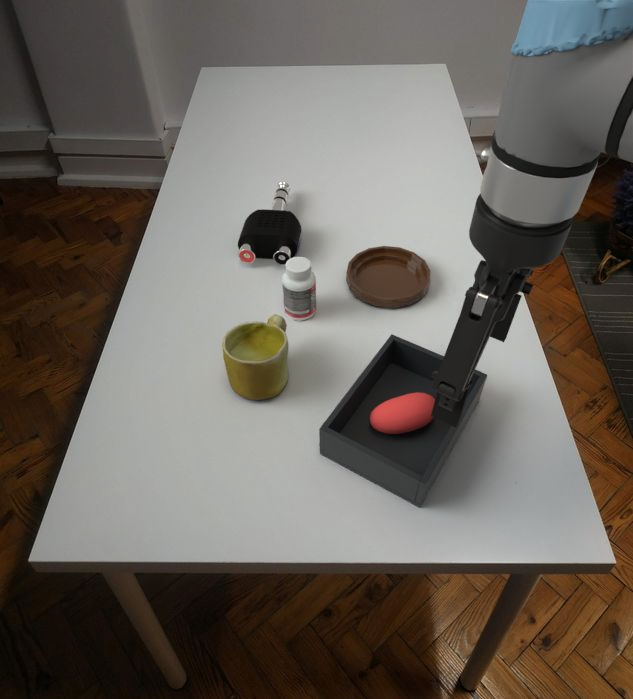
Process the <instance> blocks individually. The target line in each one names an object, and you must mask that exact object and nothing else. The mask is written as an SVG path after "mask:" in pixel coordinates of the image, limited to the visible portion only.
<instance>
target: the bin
mask: <svg viewBox="0 0 633 699" xmlns="http://www.w3.org/2000/svg"><path fill="white" fill-rule="evenodd" d="M443 358H444V355H442V354H440V353H437V352H435V351H433V350H430V349H428V348H426V347H423V346H421V345H420V344H416V343H413V342H412V341H409V340H407V339H404V338H402V337H400V336H397V335H395V334H393V333H391V334H390V335H389V337H388V338H387V339H386V340H385V343H383V345H382V346H381V347H380V349H379V350H378V351H377V353H375V355H374V357H373V358H372V359H371V360H370V362H369V363H368V364H367V365H366V367H365V368H364V369H363V371H362V372H361V373H360V374H359V376H358V377H357V378H356V380H355V381H354V383H353V384H352V385H351V387H350V388H349V389H348V391H347V392H346V393H345V394H344V396H343V397H342V399H341V400H340V401H339V402H338V403H337V405H336V406H335V408H334V409H333V410H332V412H331V413H330V414H329V415H328V417H327V418H326V420H325V421H324V422H323V423H322V425H320V427H319V429H318V430H319V432H318V434H319V435H318V437H319V454H320V455H321V456H323V457H325V458H327V459H328V460H330V461H332V462H334V463H336V464H338V465H340V466H342V467H344V468H345V469H347V470H349V471H351V472H353V473H354V474H356V475H358V476H360V477H362V478H364V479H365V480H367V481H369V482H371V483H373V484H374V485H376V486H379V487H380V488H381V489H384V490H386V491H387V492H389V493H392V494H393V495H395V496H397V497H398V498H400V499H402V500H404V501H406V502H408V503H410V504H411V505H414V506H415V507H418V509H419V508H421V507H422V505H423V504H424V501H425V500H426V499H427V496H428V494H429V492H430V491H431V489H432V487H433V486H434V484H435V482H436V479H437V478H438V476H439V475H440V473H441V471H442V469H443V467H444V465H445V463H446V462H447V460H448V458H449V456H450V454H451V452H452V451H453V449H454V448H455V445H456V444H457V442H458V440H459V439H460V436H461V435H462V433H463V431H464V429H465V427H466V426H467V424H468V422H469V420H470V418H471V417H472V415H473V413H474V411H475V409H476V408H477V406H478V404H479V402H480V401H481V396H482V394H483V390H484V387H485V384H486V382H487V379H488V374H487V373H485V372H483V371H481V370H478V369H477V368H476V369H475V371H474V373H473V376H472V378H471V380H470V381H473V382H472V385H471V388H470V391H469V394H468V397H467V400H466V403H465V406H464V409H463V412H462V415H461V418H460V421H459V424H458V425H457V427H456V428H455V427H453V426H451V425H449V424H447V423H445V422H443V421H441V420H438V419H436V418H433V419H432V421H431V422H430V423H428V424H427V425H425V426H424V427H422V428H419V429H417V430H414V431H410V432H407V433H401V434H386V433H382V432H379V431H377V430H376V429H374V428H373V427H372V425H371V423H370V415H371V412H372V411H373V410H374V409H375V408H376V407H377V406H379V405H380V404H382V403H383V402H385V401H388V400H390V399H393V398H396V397H399V396H403V395H406V394H410V393H417V392H418V393H426V394H429V395H431V396H432V397H433V398H434V399H435V398H436V394H437V392H436V391H434V390H432V386H433V385H432V384H433V382H434V380H435V378H432V377H431V376H432V373H433V372H434V371H439V368H440V366H441V363H442V361H443Z"/></svg>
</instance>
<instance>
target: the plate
mask: <svg viewBox="0 0 633 699" xmlns="http://www.w3.org/2000/svg"><path fill="white" fill-rule="evenodd" d="M345 281H346V284H347V287H348V289H349V291H350V292H351V293H352V294H353V295H354V296H355V297H356V298H358V299H359V300H360V301H361V302H365V303H367V304H370V305H372V306H373V307H381V308H389V309H391V308H399V307H405V306H406V307H407V306H410V305H411V304H413V303H415V302H418V301H419V300H421V299H423V297H424V295H425V294H426V293H427V292H428V290H429V287H430V282H431V269H430V267H429V265H428V264H427V262H426V260H425V259H424V258H423V257H421V256H420V255H418V254H417V253H416V252H415V251H411V250H408V249H405V248H403V247H400V246H390V245H380V246H374V247H369V248H367V249H364V250H362V251H360V252H357V253H356V254H355V255H354V256H353V257H352V258H351V259H350V260H349V261H348V264H347V268H346V277H345Z"/></svg>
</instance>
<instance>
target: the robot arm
mask: <svg viewBox="0 0 633 699" xmlns="http://www.w3.org/2000/svg"><path fill="white" fill-rule="evenodd" d="M516 34H517V35H516V37H515V41H514V42H513V44H512V45H511V50H510V53H511V57H510V62H509V65H508V70H507V71H508V72H507V76H506V79H505V83H504V89H503V91H502V92H503V93H502V96H501V102H500V106H499V111H498V115H497V119H496V123H495V127H494V131H493V134H492V137H491V143H490V147H484V149H483V150H482V151H481V152H480V159H481V160H482V161H484V162H487V163H486V166H485V169H484V171H483V175H482V179H481V184H480V188H479V189H480V190H479V192H480V193H479V194H478V196H477V198H476V201H475V205H474V209H473V213H472V217H471V220H470V225H469V230H468V235H469V236H468V237H469V240H470V243H471V245H472V246H473V248H474V249H475V251H477V252H478V253H479V255H480V256H481V257H482V259H481V260H480V261H479V263H478V265H477V268H476V270H475V272H474V275H473V277H474V281H473V285H472V286H470V287H469V288H468V289H466V292H465V294H464V296H465V297H464V300H463V304H462V307H461V311H460V314H459V316H458V319H457V322H456V324H455V327H454V329H453V332H452V334H451V337H450V340H449V343H448V345H447V347H446V350H445V353H444V355H443V356H444V358H443V361H442V363H441V366H440V368H439V371H434V372H433V373H432V376H431V377H432V378H435V380H434V382H433V384H432V385H433V386H432V390H434V391H436V392H437V394H436V398H435V402H434V406H433V410H432V414H431V416H432V417H434V418H436V419H438V420H441V421H443V422H445V423H447V424H449V425H451V426H453V427H455V428H456V427H457V425H458V424H459V421H460V418H461V415H462V412H463V409H464V406H465V403H466V400H467V397H468V394H469V391H470V388H471V385H472V382H473V381H470V380H471V378H472V376H473V373H474V371H475V369H476V370H477V366H478V365H479V362H480V360H481V357H482V355H483V353H484V351H485V348H486V346H487V344H488V341H489V340H490V338H492V339H495V340H497V341H500V342H502V343H504V342H505V341H506V339H507V337H508V334H509V332H510V328H511V326H512V323H513V320H514V318H515V315H516V312H517V309H518V307H519V305H520V302H521V299H522V297H523V296H522V295H521V294H519V293H522V294H523V295H524V294H525V295H527V296H529V295H530V293H531V292H532V289H533V287H534V283H531V282H528V281H527V279H529V278H530V277H531V276H532V275H533V274H534V273H533V272H534V269H536V268H540V267H543V266H546V265H548V264H550V263H552V262H554V261H555V260H556V259H557V258H558V257H559V256H560V254H561V253H562V250H563V248H564V245H565V243H566V241H567V238H568V236H569V233H570V230H571V228H572V226H573V224H574V220H575V215H576V214H578V212H579V211H580V208H581V206H582V203H583V200H584V198H585V196H586V194H587V191H588V189H589V187H590V184H591V182H592V179H593V178H594V174H595V172H596V170H597V167H598V165H599V160H600V156H601V155H602V153H603V154H606V155H608V156H610V157H613V158H615V159H619V160H624V161H626V162H629V163H632V164H633V0H527V1H526V6H525V9H524V12H523V15H522V18H521V22H520V25H519V28H518V31H517V33H516Z"/></svg>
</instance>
